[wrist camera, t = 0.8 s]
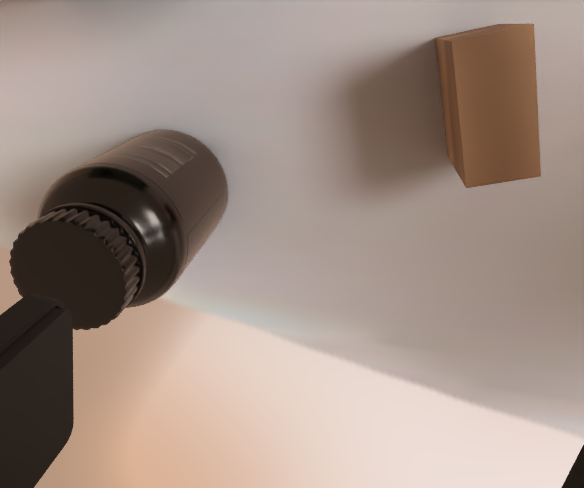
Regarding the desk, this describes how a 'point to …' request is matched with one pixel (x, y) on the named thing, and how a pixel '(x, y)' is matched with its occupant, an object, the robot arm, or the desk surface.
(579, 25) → the desk surface
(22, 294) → the supplement bottle
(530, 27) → the block
